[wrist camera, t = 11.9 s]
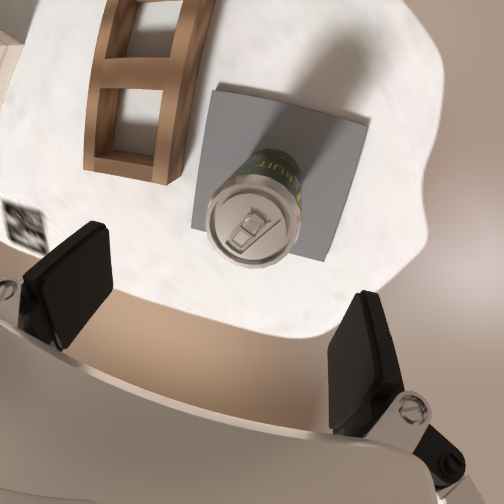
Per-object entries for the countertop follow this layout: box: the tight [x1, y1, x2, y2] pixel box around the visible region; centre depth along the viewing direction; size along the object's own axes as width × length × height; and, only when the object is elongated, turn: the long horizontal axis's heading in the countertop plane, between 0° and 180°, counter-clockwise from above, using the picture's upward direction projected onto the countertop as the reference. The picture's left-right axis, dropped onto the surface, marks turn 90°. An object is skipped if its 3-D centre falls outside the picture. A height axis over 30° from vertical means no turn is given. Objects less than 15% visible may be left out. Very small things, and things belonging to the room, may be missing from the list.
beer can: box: [205, 149, 302, 269], centre depth 21 cm, size 5×5×12 cm
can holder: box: [83, 0, 215, 185], centre depth 22 cm, size 20×10×4 cm, turn 169°
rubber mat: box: [191, 90, 368, 262], centre depth 26 cm, size 14×14×1 cm
